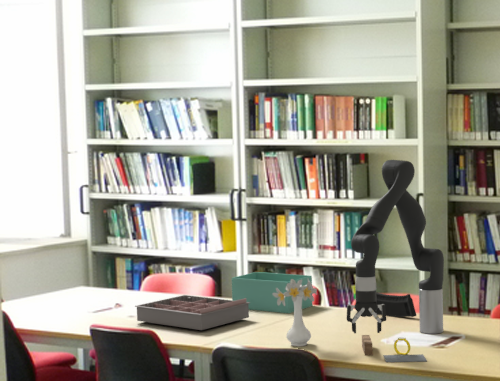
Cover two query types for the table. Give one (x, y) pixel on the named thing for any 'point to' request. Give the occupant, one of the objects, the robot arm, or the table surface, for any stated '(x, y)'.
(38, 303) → the table surface
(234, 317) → the organizer tray
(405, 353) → the watch
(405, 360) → the felt mat
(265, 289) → the box
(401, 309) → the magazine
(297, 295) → the flower vase
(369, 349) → the walnut slat
